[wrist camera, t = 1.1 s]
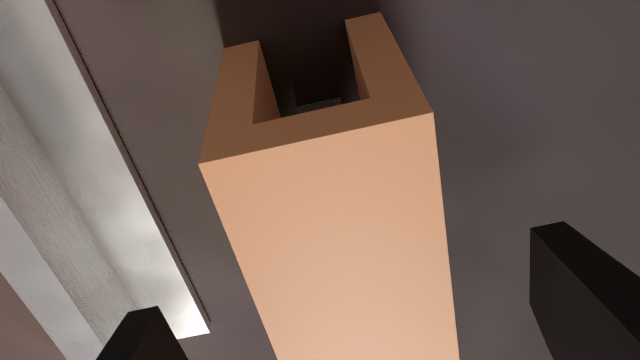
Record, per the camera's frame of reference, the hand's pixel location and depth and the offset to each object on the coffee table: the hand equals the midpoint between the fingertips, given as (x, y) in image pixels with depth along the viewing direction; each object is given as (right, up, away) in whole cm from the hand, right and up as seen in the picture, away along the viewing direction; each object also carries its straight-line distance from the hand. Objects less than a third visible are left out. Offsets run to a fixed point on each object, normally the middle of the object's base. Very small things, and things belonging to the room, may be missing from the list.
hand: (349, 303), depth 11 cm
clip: (0, +3, +5) cm, 6 cm away
